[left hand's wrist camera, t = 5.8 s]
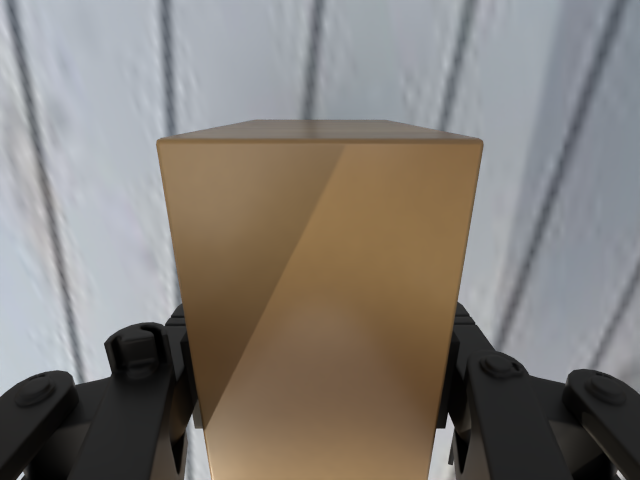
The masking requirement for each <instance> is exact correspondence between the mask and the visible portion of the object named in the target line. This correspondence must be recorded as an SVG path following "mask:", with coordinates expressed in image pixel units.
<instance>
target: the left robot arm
mask: <svg viewBox="0 0 640 480" xmlns="http://www.w3.org/2000/svg"><path fill="white" fill-rule="evenodd" d="M104 346H105V349H106V353H107V357H108V360H109V364H110V368H111V371H112V374H111V377H108V378H105V379H101V380H96V381H92V382H87V383H83V384H78V385H75V383H74V380H73V377H72V375H70V374H69V373H68V372H65V371H59V370H56V371H49V372H44V373H40V374H37V375H34V376H31V377H29V378H27V379H25V380H23V381H21V382H19V383H17V384H16V385H15V386H13V387H12V388H11V389H9V390H8V391H7V392H5V393H4V394H3V395H2V396H1V397H0V480H16V479H17V478H18V477H19V475H20V474H21V473H22V472H24V474H25V475H24V476H23V478H22V479H21V480H184V474H185V465H186V456H187V447H188V440H187V433H186V427H187V424H188V422H189V420H190V417H191V415H192V414H193V420H194V426H195V428H203V425H202V419H201V413H200V407H199V401H198V395H197V389H196V383H195V377H194V371H193V364H192V358H191V352H190V346H189V340H188V334H187V328H186V322H185V316H184V310H183V304H181V305H179V306H178V307H177V308H176V310H175V311H174V312H173V314H172V315H171V318H169V319H168V321H167V322H166V324H165V326H163V325H162V324H158V323H154V322H148V323H139V324H135V325H130V326H128V327H126V328H123V329H121V330H119V331H117V332H116V333H114V334H113V335H111V336H110V337H109V338H108V339H107V341H106V342H105V343H104ZM448 412H449V415H450V417H451V420H452V422H453V424H454V427H455V428H454V433H453V439H452V444H451V449H450V455H449V461H448V464H450V465H453V461H454V464H455V474H456V480H621V479H620V478H619V477H618V475H617V474H616V473H617V471H618V470H619V471H620V472H621V474H622V475H623V476H624V477H625V479H626V480H640V394H638V393H637V392H636V391H635V390H634V389H632V388H631V387H630V386H628V385H627V384H626V383H624V382H622V381H620V380H619V379H617V378H615V377H613V376H611V375H608V374H606V373H602V372H599V371H595V370H588V369H579V370H573V371H572V372H571V373H570V374H569V375H568V378H567V381H566V384H564V383H560V382H555V381H551V380H546V379H541V378H537V377H534V376H530V375H529V374H528V372H527V370H526V369H525V368H524V366H523V365H522V364H521V363H519V362H518V361H517V360H516V359H514V358H512V357H510V356H508V355H506V354H504V353H501V352H497V351H495V349H494V348H493V347H492V345H491V344H490V342H489V341H488V340H487V338H486V337H485V336H484V334H483V333H482V331H481V330H480V329H479V327H478V326H477V325H475V322H474V320H473V319H472V318H471V317H470V316H469V313H468V312H467V311H466V309H465V308H464V307H463V305H461V304H460V303H458V302H457V307H456V313H455V319H454V325H453V331H452V337H451V343H450V349H449V355H448V361H447V367H446V373H445V379H444V385H443V391H442V397H441V403H440V408H439V414H438V420H437V426H436V428H445V427H446V421H447V416H448Z"/></svg>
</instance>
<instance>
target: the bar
mask: <svg viewBox="0 0 640 480" xmlns="http://www.w3.org/2000/svg"><path fill="white" fill-rule="evenodd" d="M156 146H157V152H158V158H159V164H160V170H161V176H162V182H163V189H164V195H165V201H166V207H167V213H168V219H169V225H170V231H171V237H172V243H173V249H174V255H175V261H176V267H177V273H178V280H179V286H180V292H181V298H182V304H183V310H184V316H185V322H186V328H187V334H188V340H189V346H190V352H191V358H192V364H193V371H194V377H195V383H196V389H197V395H198V401H199V407H200V413H201V419H202V425H203V431H204V437H205V443H206V449H207V456H208V462H209V468H210V474H211V480H428V474H429V468H430V462H431V456H432V450H433V444H434V438H435V432H436V426H437V420H438V414H439V408H440V403H441V397H442V391H443V385H444V379H445V373H446V367H447V361H448V355H449V349H450V343H451V337H452V331H453V325H454V319H455V313H456V307H457V301H458V295H459V289H460V283H461V277H462V271H463V265H464V259H465V253H466V247H467V241H468V235H469V229H470V223H471V217H472V211H473V205H474V199H475V193H476V187H477V181H478V175H479V169H480V163H481V157H482V151H483V140H481V139H479V138H474V137H469V136H464V135H459V134H454V133H449V132H444V131H439V130H434V129H428V128H423V127H418V126H413V125H408V124H403V123H398V122H393V121H388V120H251V121H246V122H241V123H236V124H231V125H226V126H220V127H215V128H210V129H205V130H200V131H195V132H189V133H184V134H179V135H174V136H169V137H164V138H160V139H158V140H157V143H156Z"/></svg>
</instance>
